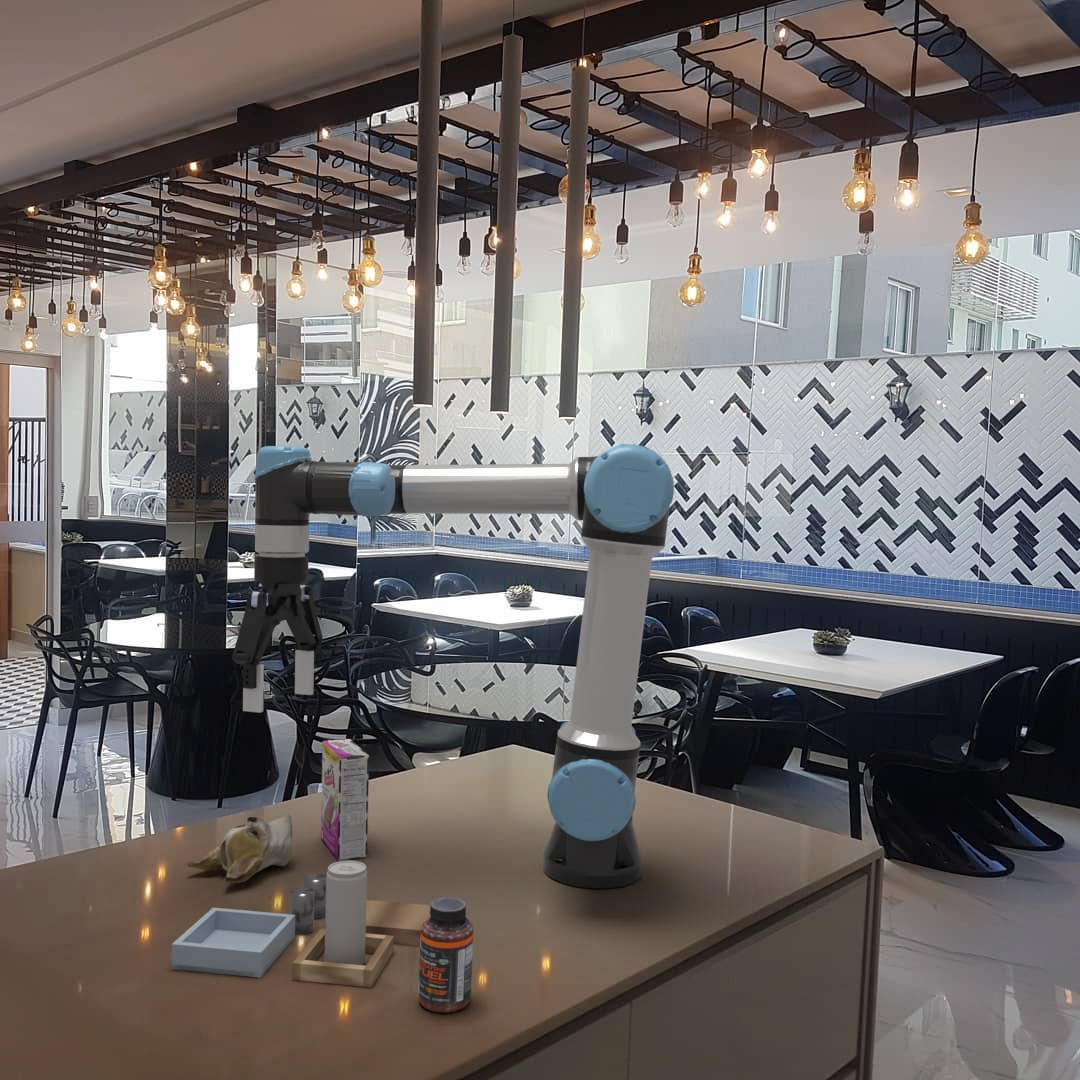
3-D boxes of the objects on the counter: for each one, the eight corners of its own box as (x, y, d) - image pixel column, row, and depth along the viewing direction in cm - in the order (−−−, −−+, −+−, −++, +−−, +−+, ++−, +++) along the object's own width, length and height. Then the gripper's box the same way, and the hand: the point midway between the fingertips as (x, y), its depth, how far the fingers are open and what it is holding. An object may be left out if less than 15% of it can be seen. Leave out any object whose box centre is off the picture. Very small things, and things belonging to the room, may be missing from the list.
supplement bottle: (407, 1007, 115) (410, 907, 114) (434, 985, 120) (437, 889, 120) (455, 1020, 112) (458, 917, 112) (480, 996, 118) (483, 899, 117)
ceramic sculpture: (311, 811, 155) (224, 841, 143) (313, 867, 155) (227, 901, 144) (269, 797, 161) (182, 824, 150) (271, 851, 162) (185, 882, 151)
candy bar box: (318, 839, 168) (321, 740, 168) (348, 836, 171) (351, 737, 170) (336, 862, 158) (339, 756, 158) (368, 858, 161) (371, 754, 160)
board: (437, 924, 138) (438, 905, 138) (423, 949, 130) (423, 930, 130) (365, 918, 139) (365, 899, 139) (346, 943, 131) (347, 923, 131)
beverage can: (355, 976, 121) (358, 876, 121) (317, 971, 122) (320, 872, 122) (370, 959, 126) (373, 862, 126) (333, 954, 127) (336, 858, 126)
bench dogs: (329, 911, 140) (330, 874, 140) (308, 935, 132) (309, 897, 132) (308, 909, 140) (309, 873, 140) (286, 933, 132) (287, 895, 132)
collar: (393, 951, 128) (393, 935, 128) (371, 987, 119) (371, 970, 119) (319, 944, 129) (320, 929, 129) (292, 979, 120) (292, 962, 120)
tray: (294, 938, 131) (295, 914, 131) (260, 977, 120) (261, 952, 120) (212, 930, 133) (213, 907, 132) (171, 969, 122) (171, 944, 122)
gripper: (303, 550, 160) (301, 685, 161) (206, 558, 137) (204, 717, 137) (346, 552, 158) (344, 689, 159) (255, 560, 134) (253, 721, 135)
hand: (279, 702), depth 148 cm, fingers open, 13 cm apart
